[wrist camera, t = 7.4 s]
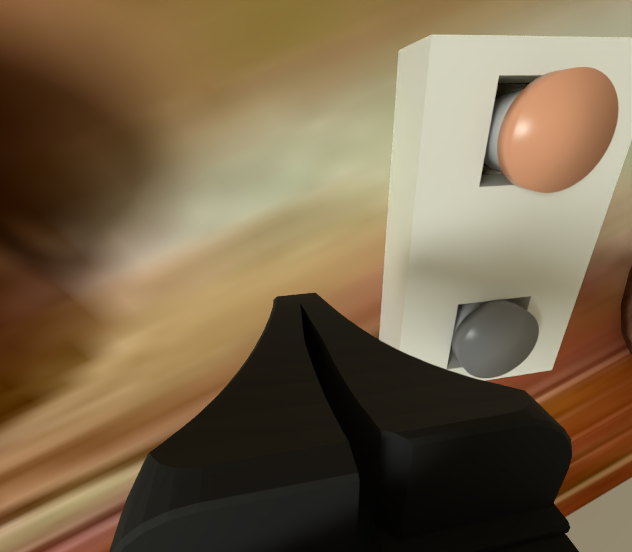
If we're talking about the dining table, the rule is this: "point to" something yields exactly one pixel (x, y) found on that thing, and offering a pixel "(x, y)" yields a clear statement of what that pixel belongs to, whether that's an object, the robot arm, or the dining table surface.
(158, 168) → the dining table surface
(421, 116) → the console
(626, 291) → the trivet
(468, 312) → the button
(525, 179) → the button
